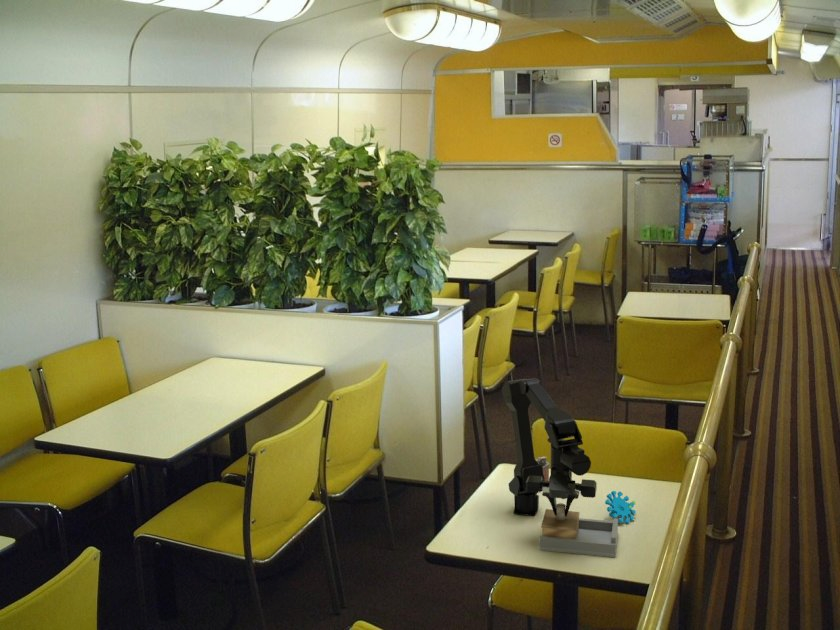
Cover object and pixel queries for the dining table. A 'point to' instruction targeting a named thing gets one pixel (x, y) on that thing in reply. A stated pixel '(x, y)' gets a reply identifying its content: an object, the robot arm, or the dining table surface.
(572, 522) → the crate
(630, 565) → the dining table surface
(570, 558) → the dining table surface
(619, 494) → the gear
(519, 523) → the dining table surface
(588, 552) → the bay
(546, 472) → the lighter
